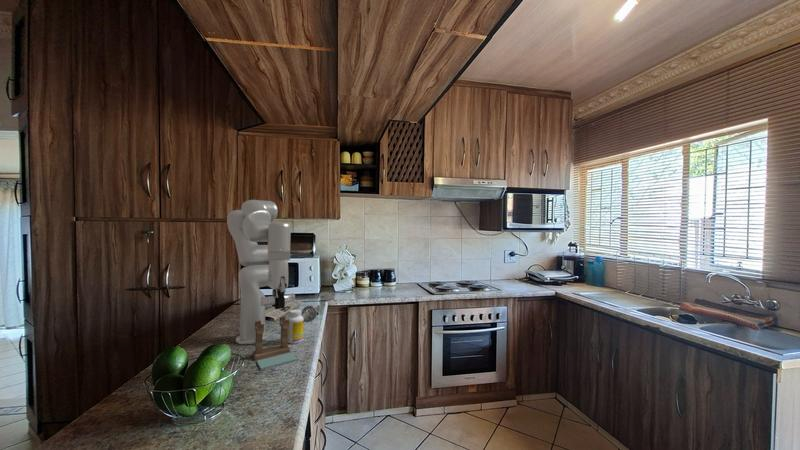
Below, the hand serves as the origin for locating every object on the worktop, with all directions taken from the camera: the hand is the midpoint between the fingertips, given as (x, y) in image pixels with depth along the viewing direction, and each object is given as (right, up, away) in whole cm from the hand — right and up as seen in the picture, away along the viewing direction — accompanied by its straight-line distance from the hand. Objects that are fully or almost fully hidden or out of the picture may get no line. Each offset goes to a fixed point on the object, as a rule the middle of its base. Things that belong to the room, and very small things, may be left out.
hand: (278, 306), depth 102 cm
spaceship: (-3, -21, +45) cm, 49 cm away
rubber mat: (0, -19, 0) cm, 20 cm away
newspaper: (-26, -21, +63) cm, 71 cm away
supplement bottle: (-1, -20, +18) cm, 27 cm away
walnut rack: (-5, -20, +6) cm, 21 cm away
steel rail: (0, +1, 0) cm, 1 cm away
